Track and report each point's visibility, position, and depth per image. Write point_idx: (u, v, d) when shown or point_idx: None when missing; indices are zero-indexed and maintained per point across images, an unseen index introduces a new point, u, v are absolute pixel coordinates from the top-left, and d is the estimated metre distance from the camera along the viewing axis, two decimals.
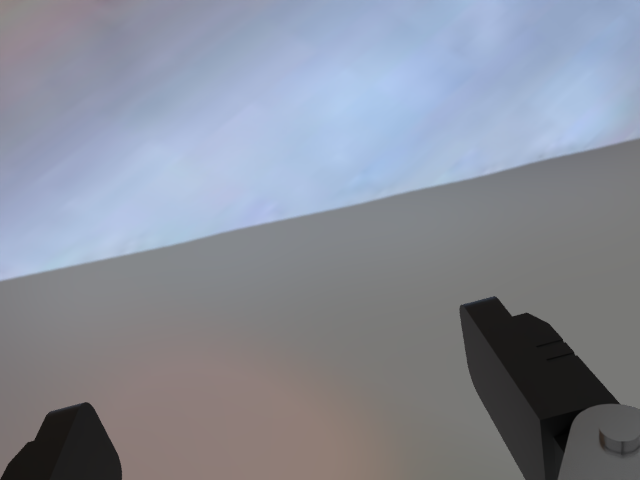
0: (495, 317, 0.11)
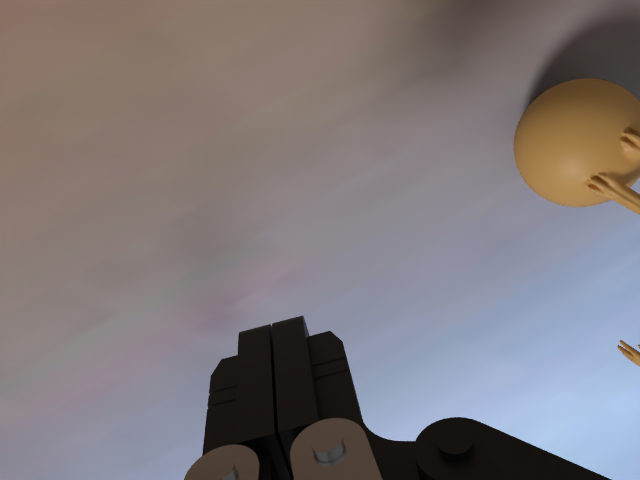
0: (291, 336, 0.12)
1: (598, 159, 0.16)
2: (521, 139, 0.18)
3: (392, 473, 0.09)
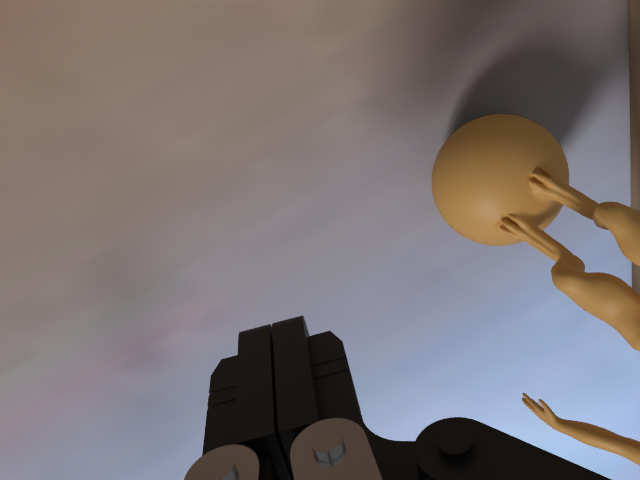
0: (291, 336, 0.12)
1: (507, 200, 0.16)
2: (435, 177, 0.17)
3: (392, 473, 0.09)
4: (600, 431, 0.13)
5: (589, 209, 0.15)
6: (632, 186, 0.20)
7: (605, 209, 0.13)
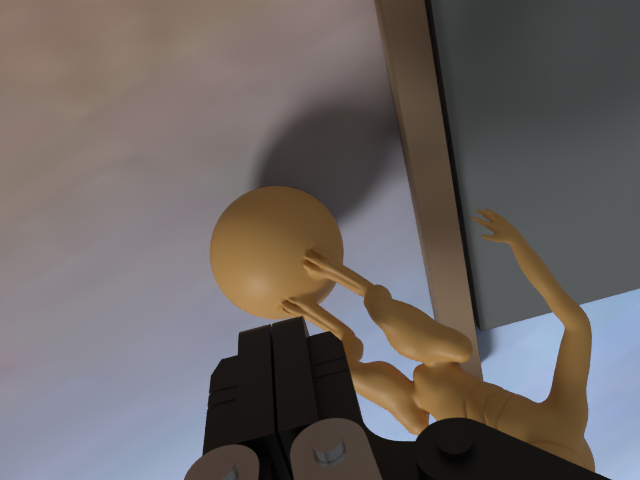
0: (291, 336, 0.12)
1: (285, 286, 0.15)
2: (212, 261, 0.16)
3: (392, 473, 0.09)
4: None
5: (361, 289, 0.15)
6: (419, 238, 0.20)
7: (371, 306, 0.13)
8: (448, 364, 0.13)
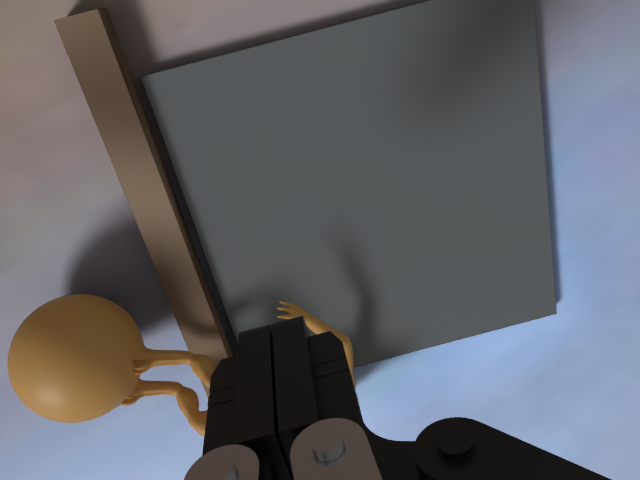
0: (291, 336, 0.12)
1: (125, 395, 0.18)
2: (40, 412, 0.17)
3: (392, 473, 0.09)
4: None
5: (183, 362, 0.19)
6: None
7: None
8: None
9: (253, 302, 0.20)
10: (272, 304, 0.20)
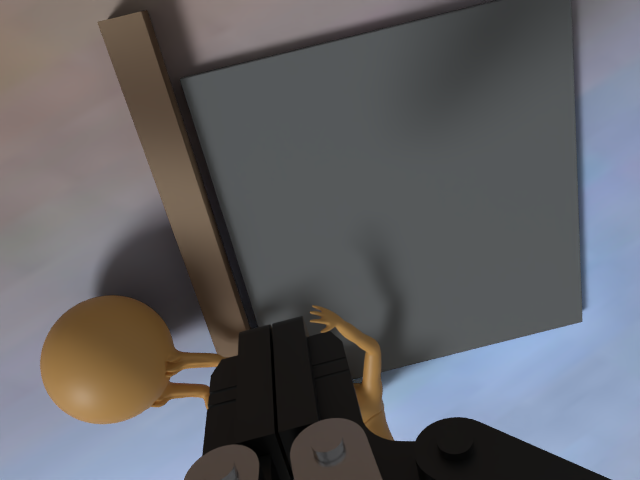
0: (291, 336, 0.12)
1: (156, 397, 0.18)
2: (73, 412, 0.17)
3: (392, 473, 0.09)
4: None
5: (213, 364, 0.19)
6: None
7: None
8: None
9: (282, 306, 0.20)
10: (301, 308, 0.20)
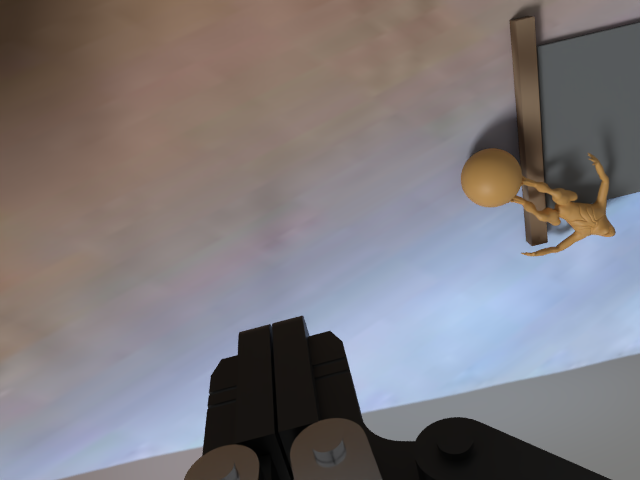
0: (291, 336, 0.12)
1: None
2: (488, 195, 0.37)
3: (392, 473, 0.09)
4: (546, 250, 0.42)
5: (533, 184, 0.40)
6: (520, 162, 0.41)
7: (557, 195, 0.39)
8: (569, 202, 0.40)
9: (558, 161, 0.41)
10: (566, 163, 0.41)
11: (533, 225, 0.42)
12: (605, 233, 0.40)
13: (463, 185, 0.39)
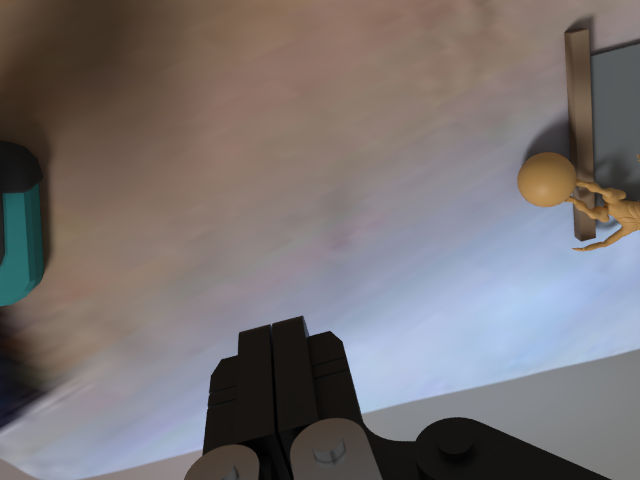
0: (291, 336, 0.12)
1: None
2: (546, 196, 0.40)
3: (392, 473, 0.09)
4: (595, 245, 0.45)
5: (585, 185, 0.42)
6: (571, 163, 0.44)
7: (609, 194, 0.41)
8: (618, 200, 0.43)
9: (606, 162, 0.44)
10: (614, 163, 0.44)
11: (582, 222, 0.45)
12: None
13: (520, 187, 0.42)
